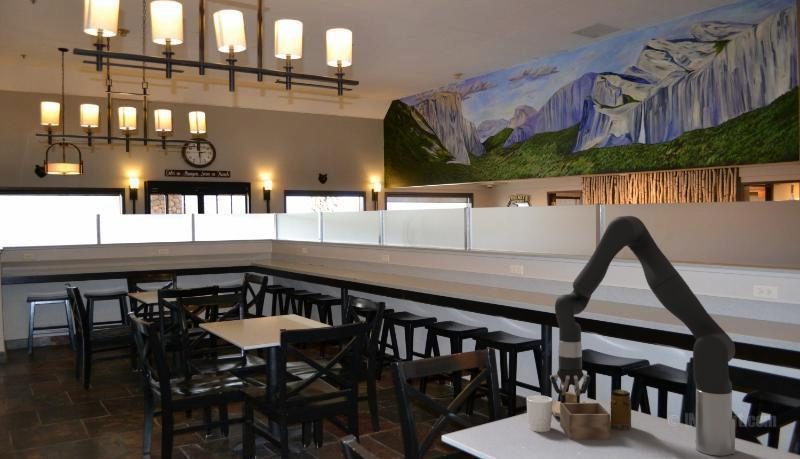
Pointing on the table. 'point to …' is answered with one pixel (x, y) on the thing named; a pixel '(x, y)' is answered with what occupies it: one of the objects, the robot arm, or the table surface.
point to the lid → (570, 398)
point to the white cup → (539, 413)
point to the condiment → (621, 410)
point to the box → (584, 421)
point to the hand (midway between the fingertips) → (570, 405)
